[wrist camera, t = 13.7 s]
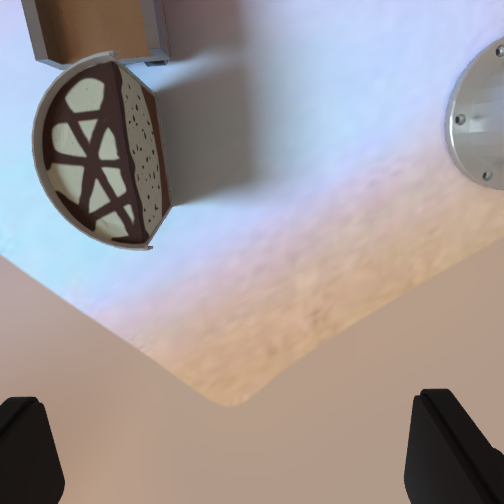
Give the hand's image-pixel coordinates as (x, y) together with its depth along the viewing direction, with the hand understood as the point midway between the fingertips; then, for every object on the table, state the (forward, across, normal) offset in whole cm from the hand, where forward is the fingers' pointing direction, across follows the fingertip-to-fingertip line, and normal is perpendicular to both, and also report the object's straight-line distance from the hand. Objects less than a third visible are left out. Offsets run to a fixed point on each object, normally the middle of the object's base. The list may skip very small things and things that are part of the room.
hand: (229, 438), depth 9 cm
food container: (+25, +10, -6) cm, 27 cm away
